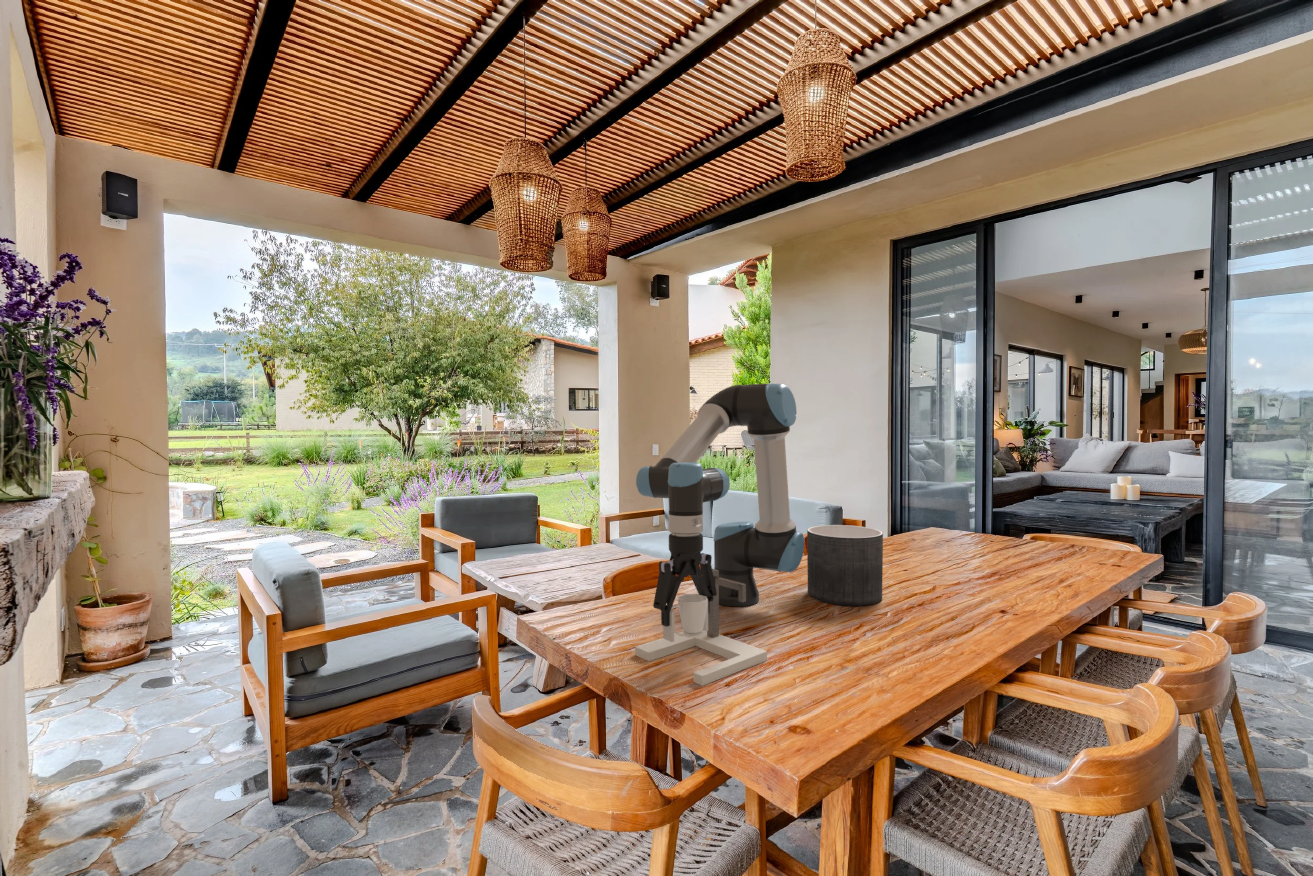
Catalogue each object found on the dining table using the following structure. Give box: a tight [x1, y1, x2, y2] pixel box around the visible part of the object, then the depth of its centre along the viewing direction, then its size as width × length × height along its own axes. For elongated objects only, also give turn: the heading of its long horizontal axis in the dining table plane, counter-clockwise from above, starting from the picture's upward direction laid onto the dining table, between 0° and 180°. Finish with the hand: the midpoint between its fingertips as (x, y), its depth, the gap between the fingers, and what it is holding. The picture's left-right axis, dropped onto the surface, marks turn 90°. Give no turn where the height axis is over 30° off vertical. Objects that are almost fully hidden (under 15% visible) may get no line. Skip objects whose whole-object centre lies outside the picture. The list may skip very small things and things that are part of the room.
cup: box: [671, 593, 708, 638], centre depth 135 cm, size 7×10×8 cm
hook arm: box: [707, 568, 746, 638], centre depth 145 cm, size 11×2×16 cm, turn 40°
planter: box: [806, 524, 884, 607], centre depth 189 cm, size 22×22×20 cm
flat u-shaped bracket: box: [634, 630, 768, 687], centre depth 140 cm, size 22×20×2 cm
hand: (686, 634), depth 135 cm, fingers closed on cup, 9 cm apart
